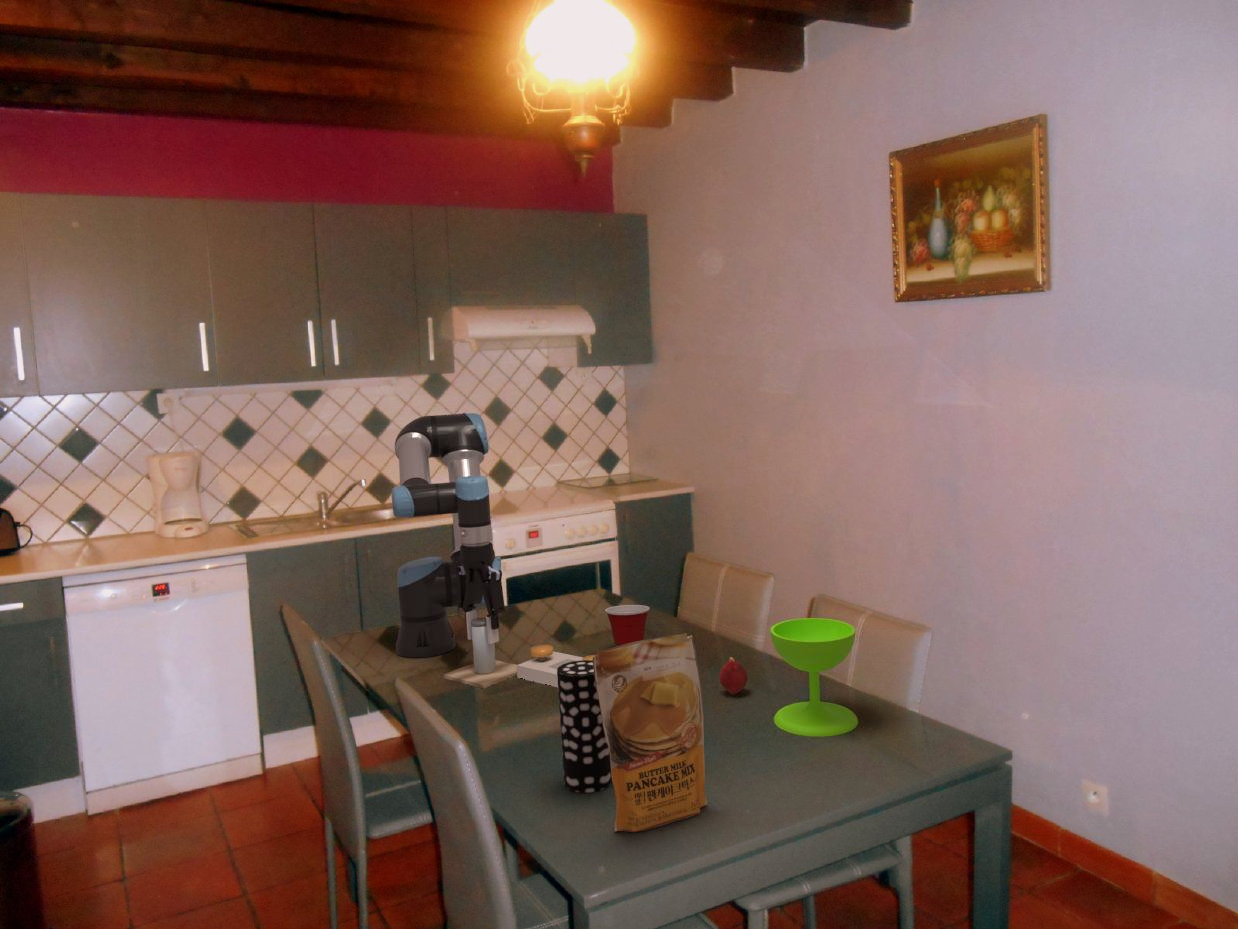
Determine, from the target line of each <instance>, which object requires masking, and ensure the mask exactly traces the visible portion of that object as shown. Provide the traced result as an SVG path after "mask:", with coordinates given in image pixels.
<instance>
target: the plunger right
mask: <svg viewBox="0 0 1238 929" xmlns="http://www.w3.org/2000/svg"><path fill="white" fill-rule="evenodd" d="M595 655H596V654H591V655H586V656H584V657H583V658H582V660H593V659H592V658H593V657H594V656H595Z"/></svg>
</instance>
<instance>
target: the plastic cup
mask: <svg viewBox="0 0 1238 929" xmlns="http://www.w3.org/2000/svg"><path fill="white" fill-rule="evenodd" d="M650 609H651V608H650V606H647V605H643V604H642V605H641V604H621V605H615V606H614V605H613V606H610V607H607V608H606V609H604V611H605V613H606V614H607V617H608V620H609V624H610V628H611V633H612V637H613V642H614V645H615V647H616V646H620V645H624V644H628V643H632V642H636V641H641V640H645V632H646V625H647V624H646V623H647V622H646V621H647V616H648V613H649V611H650Z"/></svg>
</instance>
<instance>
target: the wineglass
mask: <svg viewBox="0 0 1238 929" xmlns="http://www.w3.org/2000/svg"><path fill="white" fill-rule="evenodd" d="M769 632H770V636H771V637H770V638H771V642H772V644H773V646H774V648H775V650H776V652H777V654H778V655H779V656H780V657H781V658H782V660H784V662H785V663H787V664H789V665H790V666H791V667H792V668H795V669H796V670H800V671H804V672H807V673H808V683H809V701H800V702H794V703H790V704H788V705H786V706H783V707H782V708H780V709H779V710H777V712H776V713H775V715H774V717H773V722H774V724H775V725H776V727H777V728H779V729H781V730H783V731H785V732H787V733H790V734H794V735H798V736H803V737H810V738H811V737H813V738H814V737H819V738H820V737H821V738H823V737H834V736H839V735H844V734H845V733H848V732H851V731H852V730H854V729H856V728H857V725H859V721H858V720H859V719H858V717H857V715H856V714H855V713H854V712H853V711H852V710H851V709H849V708H848V707H845V706H842V705H840V704H837V703H833V702H828V701H827V702H826V701H821V699H820V698H821V697H820V695H821V694H820V693H821V692H820V672H826V671H829V670H832V669H834V668H835V667H836V666H838V665H840V664H841V663H843V662H844V660H845V659H846V658H847V656H848V655H849V654H850V652H851V651H852V648H853V646H854V643H855V637H856V628H855V627H854V625H852V624H850V623H847V622H845V621H841V620H838V619H831V618H823V617H822V618H820V617H818V618H817V617H807V618H806V617H803V618H795V619H788V620H787V619H786V620H784V621H780V622H778V623H775V624H774V625H772V626H771V627H770V631H769Z"/></svg>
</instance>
